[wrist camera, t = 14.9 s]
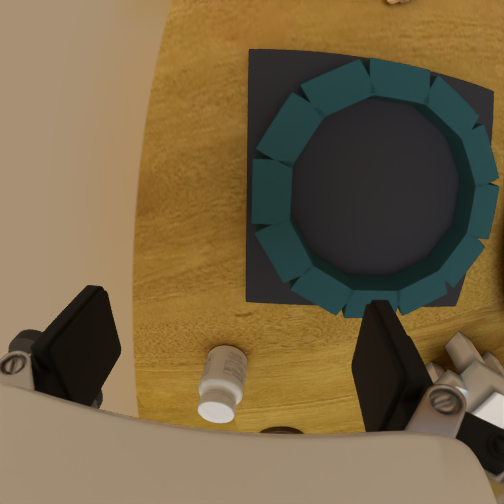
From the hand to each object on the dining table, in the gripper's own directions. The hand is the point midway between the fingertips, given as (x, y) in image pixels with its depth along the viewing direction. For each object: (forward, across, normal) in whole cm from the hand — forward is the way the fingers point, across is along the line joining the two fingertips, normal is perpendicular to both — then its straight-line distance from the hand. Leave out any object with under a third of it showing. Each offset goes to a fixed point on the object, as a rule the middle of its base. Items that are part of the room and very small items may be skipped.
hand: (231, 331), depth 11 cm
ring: (+16, -10, -2) cm, 19 cm away
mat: (+17, -10, -2) cm, 20 cm away
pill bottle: (+17, +3, +17) cm, 25 cm away
